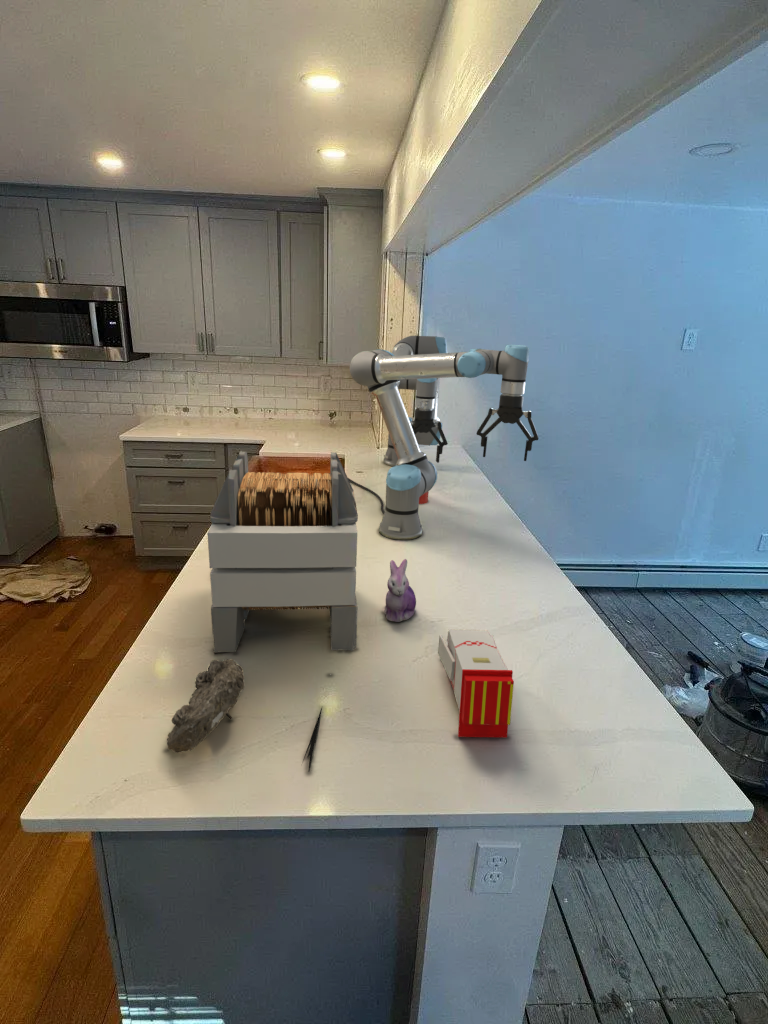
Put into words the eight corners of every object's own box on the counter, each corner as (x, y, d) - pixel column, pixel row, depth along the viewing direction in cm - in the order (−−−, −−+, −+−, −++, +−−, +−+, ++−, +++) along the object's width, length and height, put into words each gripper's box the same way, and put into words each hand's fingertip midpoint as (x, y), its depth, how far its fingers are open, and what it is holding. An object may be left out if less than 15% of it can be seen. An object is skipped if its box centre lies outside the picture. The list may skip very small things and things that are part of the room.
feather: (331, 679, 122) (336, 673, 122) (307, 777, 96) (313, 769, 95) (324, 675, 122) (329, 669, 121) (298, 772, 95) (304, 764, 95)
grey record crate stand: (232, 584, 158) (225, 442, 144) (349, 583, 162) (353, 444, 148) (211, 655, 127) (198, 480, 113) (357, 651, 130) (362, 482, 117)
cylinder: (420, 505, 230) (422, 475, 225) (404, 501, 234) (406, 471, 230) (431, 501, 236) (433, 471, 231) (415, 496, 240) (417, 467, 236)
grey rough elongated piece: (192, 660, 117) (244, 628, 112) (224, 691, 120) (276, 661, 115) (142, 746, 98) (202, 712, 93) (182, 779, 101) (242, 748, 96)
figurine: (392, 627, 141) (395, 572, 136) (374, 608, 149) (376, 556, 144) (425, 619, 145) (429, 566, 140) (405, 601, 154) (408, 550, 149)
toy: (488, 613, 130) (523, 677, 101) (484, 667, 133) (517, 744, 104) (435, 612, 130) (455, 676, 101) (432, 666, 133) (451, 743, 103)
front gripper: (551, 395, 185) (542, 459, 192) (474, 390, 190) (468, 452, 197) (552, 399, 178) (542, 464, 185) (472, 393, 183) (466, 457, 190)
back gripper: (394, 409, 217) (391, 463, 224) (457, 411, 220) (453, 464, 227) (391, 406, 224) (389, 458, 231) (453, 408, 227) (449, 459, 234)
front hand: (504, 458), depth 191 cm, fingers open, 13 cm apart
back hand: (420, 461), depth 229 cm, fingers open, 13 cm apart
